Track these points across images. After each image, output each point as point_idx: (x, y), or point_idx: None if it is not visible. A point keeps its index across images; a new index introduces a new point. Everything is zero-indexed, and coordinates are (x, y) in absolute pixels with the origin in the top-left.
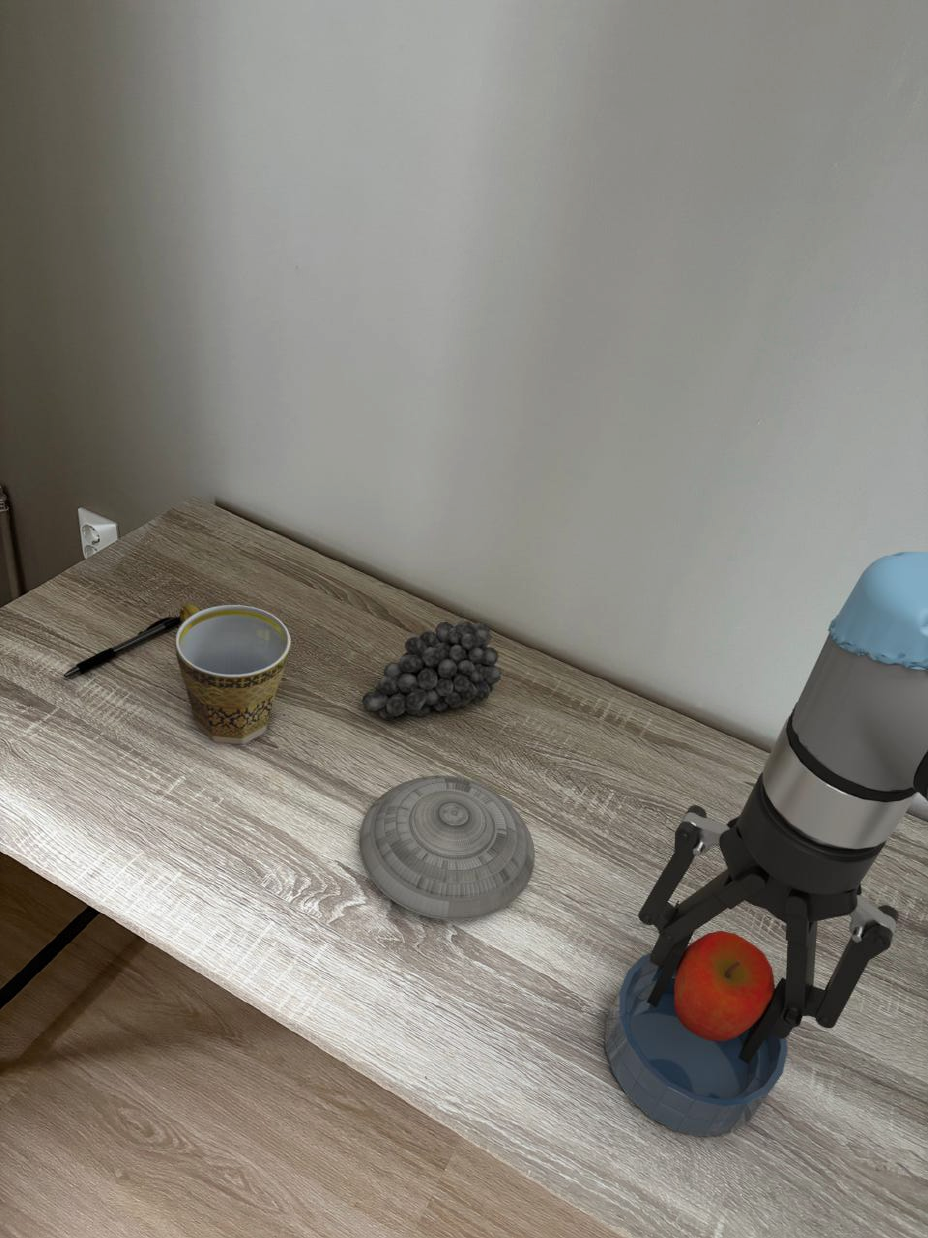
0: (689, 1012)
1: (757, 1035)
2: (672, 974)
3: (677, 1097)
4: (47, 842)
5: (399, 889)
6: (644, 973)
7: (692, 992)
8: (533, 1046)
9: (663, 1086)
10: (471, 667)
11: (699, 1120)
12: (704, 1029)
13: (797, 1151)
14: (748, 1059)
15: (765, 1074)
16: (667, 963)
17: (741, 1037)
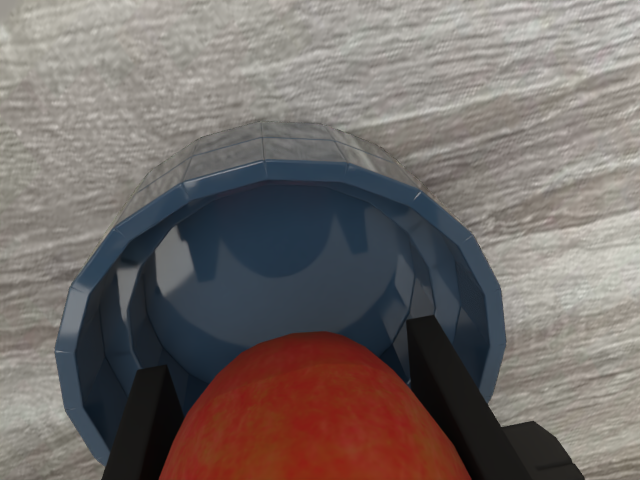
0: (347, 382)
1: (128, 473)
2: (471, 447)
3: (226, 163)
4: None
5: None
6: None
7: (398, 468)
8: (543, 73)
9: (273, 157)
10: None
11: (160, 176)
12: (273, 368)
13: (2, 293)
14: (140, 380)
15: (119, 373)
16: (521, 475)
17: None
